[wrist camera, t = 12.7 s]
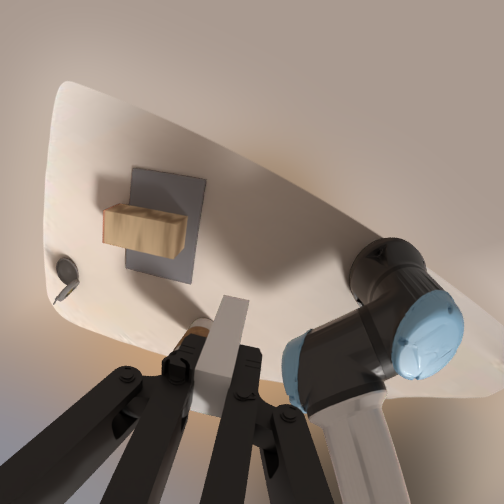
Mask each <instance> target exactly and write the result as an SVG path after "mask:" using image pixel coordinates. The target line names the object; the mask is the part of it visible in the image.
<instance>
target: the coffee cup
mask: <svg viewBox="0 0 504 504" xmlns="http://www.w3.org/2000/svg"><path fill="white" fill-rule="evenodd" d="M212 324H213V321H212V320H210V319H207V318H199V319H197V320H195V321H194V322H193V323H192V325H191V326H190V328H189V329H188V330H187V332H186V333H185V335H184V336H183V337H182V339H181V340H180V341H179V343H178V344H177V346H176V347H175V348H174V350H173V352H171V353H170V354H169V356H170V355H176V353H177V351H178V349H179V347H180V346H181V343H182V341H183V339H184V338H185V337H186V336H187V335H189V334H190V333H192V334H196V335H200V336H204V337H208V334H209V332H210V329H211V327H212Z"/></svg>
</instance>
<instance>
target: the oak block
mask: <svg viewBox="0 0 504 504" xmlns="http://www.w3.org/2000/svg"><path fill="white" fill-rule="evenodd" d="M187 220H188V216H184V215H179V214H174V213H168V212H163V211H158V210H153V209H147V208H142V207H137V206H131V205H126V204H117V205H115V206H112V207H110V208H108V209H105V210H103V242H102V243H106V244H110V245H114V246H118V247H122V248H127V249H131V250H135V251H139V252H144V253H148V254H152V255H156V256H161V257H165V258H169V259H174V258H175V257H176V256H177V255H178V254H179V253H180V252H181V251H182V250H183V249H184V245H185V236H186V228H187Z"/></svg>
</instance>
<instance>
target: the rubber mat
mask: <svg viewBox="0 0 504 504" xmlns="http://www.w3.org/2000/svg"><path fill="white" fill-rule="evenodd" d="M205 184H206V180H205V179H200V178H194V177H189V176H183V175H177V174H171V173H164V172H158V171H152V170H145V169H138V168H133V172H132V181H131V191H130V201H129V205H131V206H137V207H142V208H147V209H153V210H158V211H163V212H168V213H174V214H179V215H184V216H188V220H187V228H186V236H185V245H184V249H183V250H182V251H181V252H180V253H179V254H178V255H177V256H176V257H175V258H174V259H169V258H165V257H161V256H156V255H152V254H148V253H144V252H139V251H135V250H131V249H127V248H126V268H128V269H131V270H135V271H139V272H143V273H147V274H150V275H154V276H158V277H162V278H166V279H170V280H174V281H178V282H182V283H186V284H190V285H191V283H192V274H193V267H194V259H195V251H196V244H197V237H198V230H199V223H200V216H201V209H202V203H203V197H204V190H205Z"/></svg>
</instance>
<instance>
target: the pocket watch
mask: <svg viewBox="0 0 504 504" xmlns="http://www.w3.org/2000/svg"><path fill="white" fill-rule="evenodd" d="M56 270H57V274H58V276H59V278H60V280H61V281H62V282H63V283H65V284H66V285H67V286H66V287H65V288H64V289H63V290H62V291H61V293H60V294H59V295H58V296H57V297H56V298H55V302H54V303H53V305H54V304H55V303H56V301H57V300H58V301H62V300H64V299H65V298H66V297H67V296H68V295H69V294H70V293H72V291H73V290H74V289H75V288H76V287H77V286H78V284H79V280H78V278H79V274H78V270H77V267H76V266H75V264H74V263H73V262H72V261H71V260H69V259H67V258H62V259H60V260H59V261H58V262H57V266H56Z"/></svg>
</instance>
